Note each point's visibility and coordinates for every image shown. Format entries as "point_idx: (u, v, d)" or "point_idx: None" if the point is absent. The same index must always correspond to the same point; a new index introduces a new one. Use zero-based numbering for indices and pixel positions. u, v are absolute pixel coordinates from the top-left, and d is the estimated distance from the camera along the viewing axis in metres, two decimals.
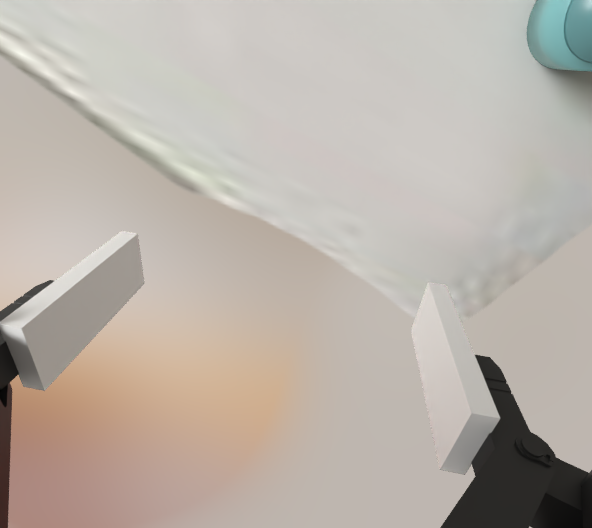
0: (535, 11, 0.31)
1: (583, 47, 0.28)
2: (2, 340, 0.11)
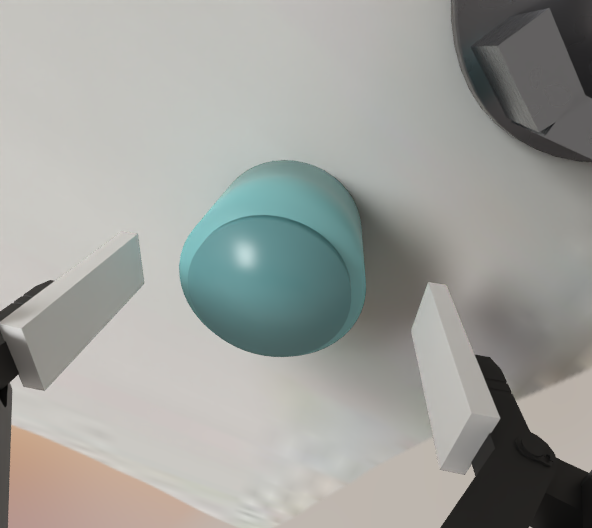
0: None
1: (235, 336, 0.16)
2: (2, 340, 0.11)
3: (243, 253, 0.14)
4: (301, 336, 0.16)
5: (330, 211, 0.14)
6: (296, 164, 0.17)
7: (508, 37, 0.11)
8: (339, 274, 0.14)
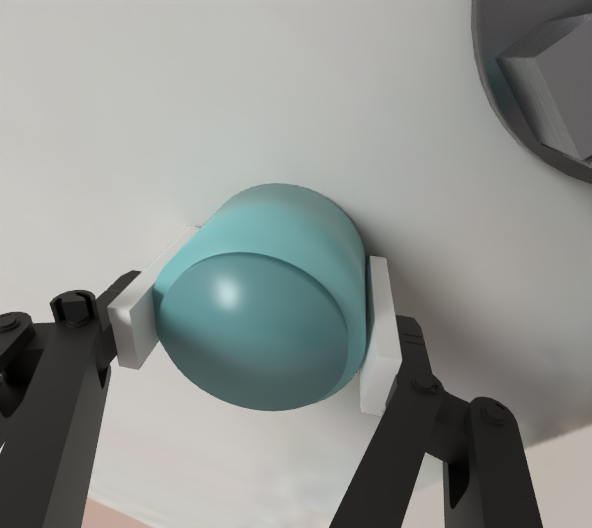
0: None
1: (218, 388, 0.14)
2: (108, 322, 0.12)
3: (217, 297, 0.12)
4: (293, 389, 0.13)
5: (319, 244, 0.12)
6: (286, 188, 0.15)
7: (548, 47, 0.09)
8: (330, 320, 0.11)
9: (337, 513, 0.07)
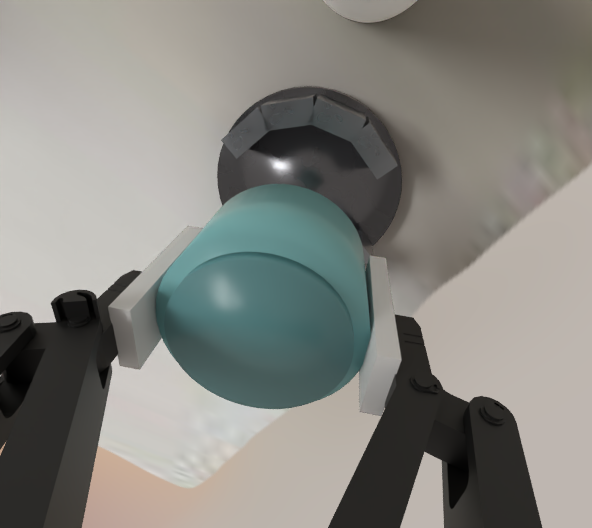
0: None
1: (223, 388, 0.14)
2: (109, 322, 0.12)
3: (224, 297, 0.12)
4: (299, 386, 0.14)
5: (324, 242, 0.12)
6: (286, 188, 0.15)
7: None
8: (337, 316, 0.12)
9: (336, 512, 0.07)
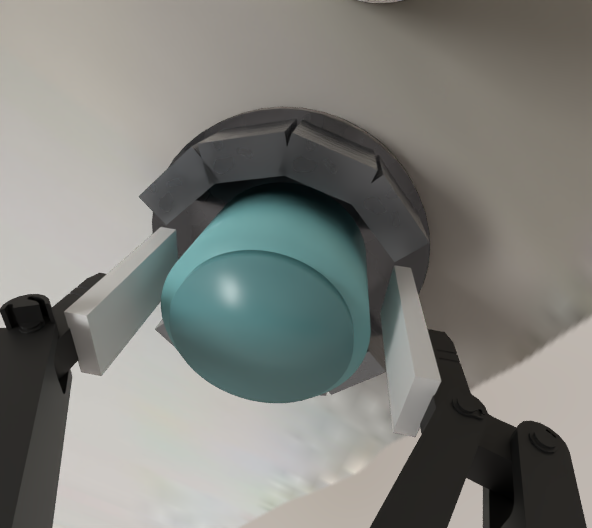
0: None
1: (226, 382, 0.14)
2: (66, 327, 0.12)
3: (227, 293, 0.12)
4: (300, 381, 0.14)
5: (325, 242, 0.12)
6: (289, 186, 0.16)
7: (160, 325, 0.18)
8: (337, 314, 0.12)
9: None
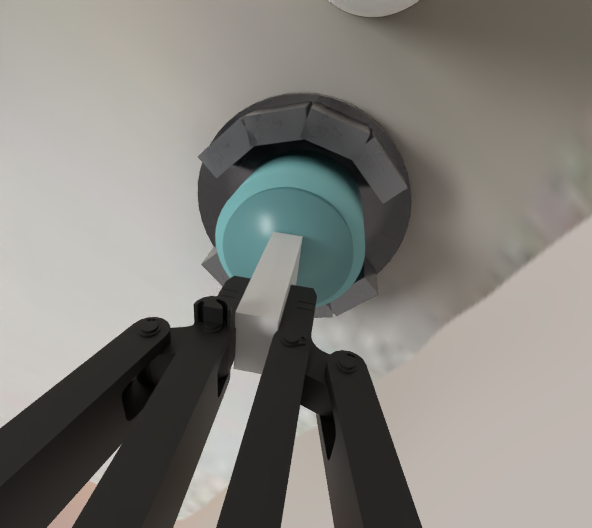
0: None
1: None
2: (233, 327, 0.12)
3: (265, 218, 0.18)
4: (315, 287, 0.19)
5: (333, 183, 0.18)
6: (305, 151, 0.21)
7: (205, 261, 0.23)
8: (342, 231, 0.17)
9: (232, 478, 0.08)
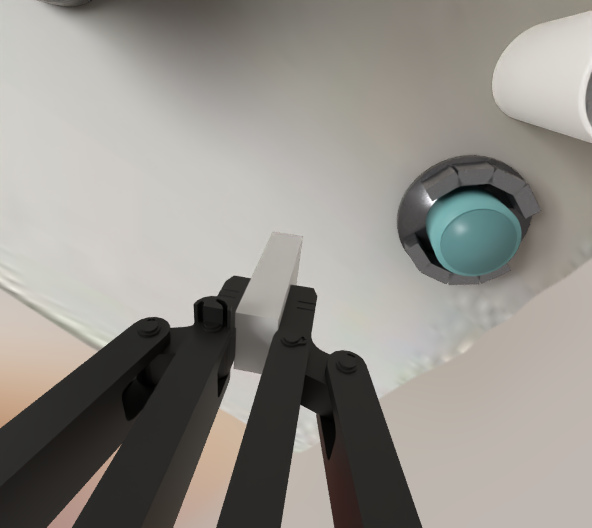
0: (427, 220, 0.40)
1: (456, 264, 0.36)
2: (233, 327, 0.12)
3: (472, 224, 0.34)
4: (489, 262, 0.36)
5: (506, 207, 0.34)
6: (476, 188, 0.38)
7: (408, 248, 0.40)
8: (513, 232, 0.34)
9: (232, 478, 0.08)
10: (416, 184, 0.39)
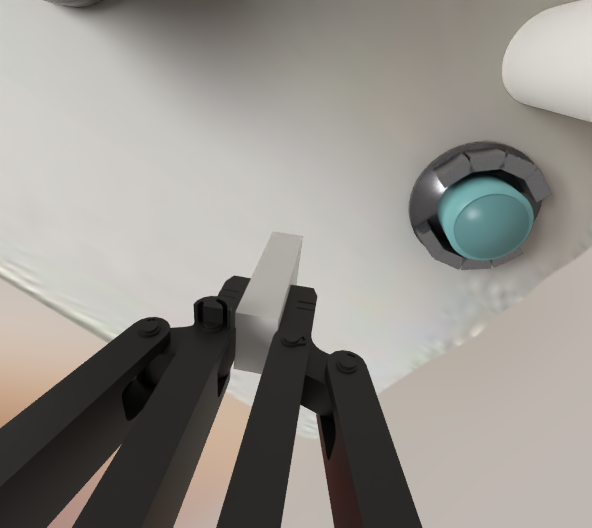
0: (439, 207, 0.40)
1: (470, 249, 0.37)
2: (233, 327, 0.12)
3: (485, 209, 0.35)
4: (502, 246, 0.36)
5: None
6: (487, 173, 0.38)
7: (421, 235, 0.40)
8: (525, 215, 0.35)
9: (232, 478, 0.08)
10: (427, 172, 0.40)
